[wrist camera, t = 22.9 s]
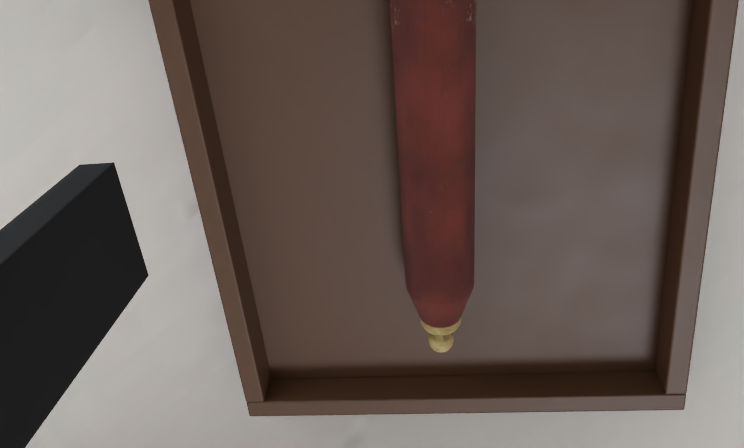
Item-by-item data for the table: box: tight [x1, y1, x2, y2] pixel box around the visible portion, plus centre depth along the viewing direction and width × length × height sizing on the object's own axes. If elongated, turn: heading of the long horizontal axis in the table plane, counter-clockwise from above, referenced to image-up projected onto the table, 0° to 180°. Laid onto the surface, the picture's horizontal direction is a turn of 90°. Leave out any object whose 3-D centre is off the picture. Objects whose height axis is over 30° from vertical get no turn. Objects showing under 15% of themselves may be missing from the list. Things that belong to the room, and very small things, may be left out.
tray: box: [149, 0, 739, 416], centre depth 22 cm, size 27×18×2 cm, turn 6°
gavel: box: [390, 0, 476, 353], centre depth 21 cm, size 21×5×10 cm
